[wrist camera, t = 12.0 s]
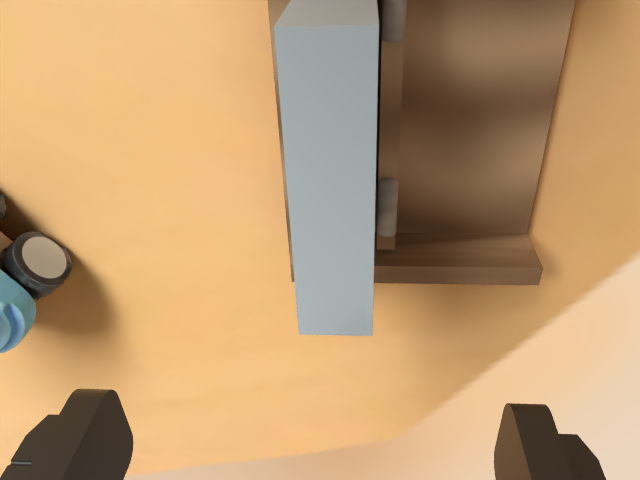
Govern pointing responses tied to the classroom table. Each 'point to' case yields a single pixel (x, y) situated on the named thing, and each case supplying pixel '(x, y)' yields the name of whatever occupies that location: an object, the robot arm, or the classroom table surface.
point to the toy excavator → (26, 279)
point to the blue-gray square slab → (330, 158)
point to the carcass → (458, 135)
